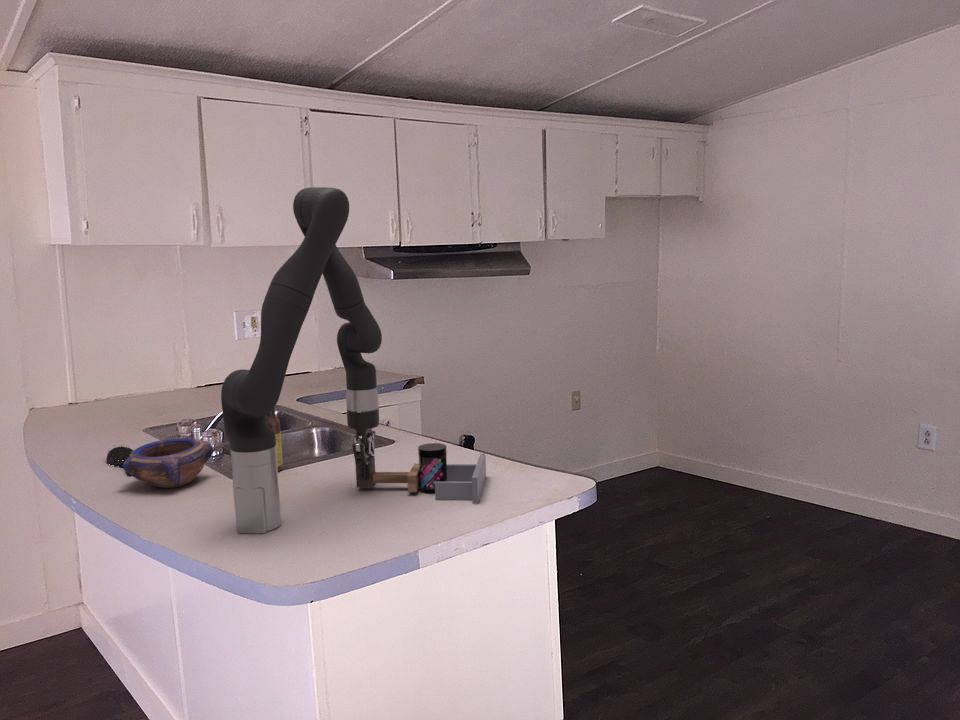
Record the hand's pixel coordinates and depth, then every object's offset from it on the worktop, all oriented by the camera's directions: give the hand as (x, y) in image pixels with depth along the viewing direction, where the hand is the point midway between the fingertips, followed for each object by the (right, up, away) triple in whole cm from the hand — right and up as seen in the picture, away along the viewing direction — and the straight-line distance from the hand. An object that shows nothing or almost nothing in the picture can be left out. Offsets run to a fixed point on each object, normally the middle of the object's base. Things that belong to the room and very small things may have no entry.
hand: (366, 477), depth 193 cm
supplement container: (+16, -3, -1) cm, 17 cm away
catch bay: (+23, -3, -2) cm, 23 cm away
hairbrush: (-69, -1, +27) cm, 74 cm away
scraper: (+6, -2, 0) cm, 6 cm away
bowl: (-50, -3, +10) cm, 51 cm away
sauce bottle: (-27, -1, +18) cm, 33 cm away
